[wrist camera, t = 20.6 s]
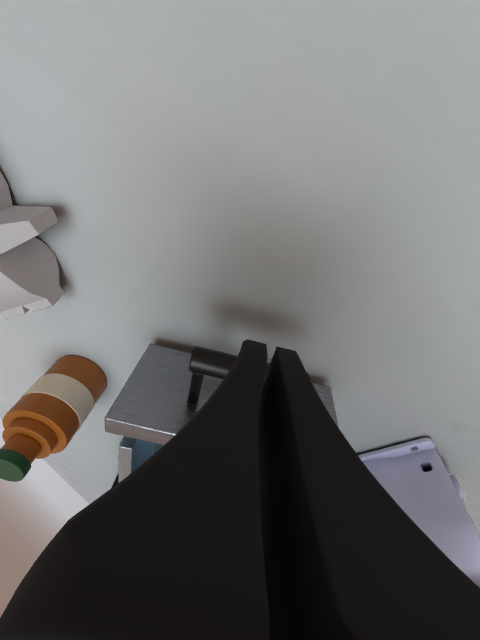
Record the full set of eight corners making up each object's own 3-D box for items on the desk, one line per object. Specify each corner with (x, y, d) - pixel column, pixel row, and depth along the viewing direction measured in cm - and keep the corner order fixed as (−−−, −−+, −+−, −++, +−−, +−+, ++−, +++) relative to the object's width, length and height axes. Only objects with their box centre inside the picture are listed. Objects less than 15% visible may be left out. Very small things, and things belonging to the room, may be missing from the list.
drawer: (153, 295, 20) (102, 362, 14) (352, 344, 20) (381, 429, 15) (141, 454, 29) (107, 534, 23) (278, 486, 30) (278, 573, 24)
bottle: (103, 358, 25) (30, 453, 17) (110, 399, 27) (49, 496, 20) (49, 351, 25) (-46, 441, 18) (60, 391, 27) (-18, 485, 20)
